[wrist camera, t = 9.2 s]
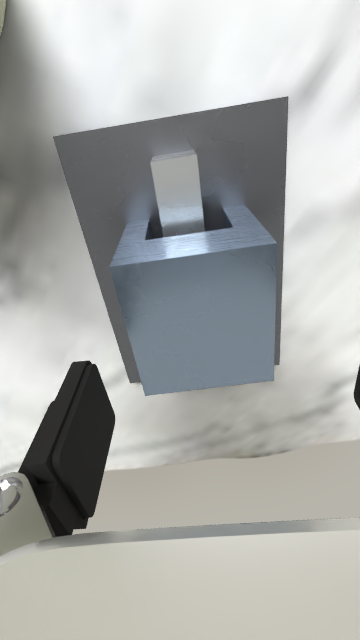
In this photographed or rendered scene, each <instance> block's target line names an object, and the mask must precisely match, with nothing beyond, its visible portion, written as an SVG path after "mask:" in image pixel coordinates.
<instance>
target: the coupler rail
mask: <svg viewBox="0 0 360 640" xmlns="http://www.w3.org/2000/svg"><path fill="white" fill-rule="evenodd" d="M287 121H288V97H282V98H277V99H271V100H265V101H259V102H253V103H247V104H242V105H236V106H230V107H224V108H218V109H212V110H207V111H201V112H195V113H189V114H183V115H177V116H172V117H166V118H160V119H154V120H148V121H142V122H137V123H131V124H125V125H119V126H113V127H107V128H102V129H96V130H90V131H84V132H78V133H72V134H67V135H61V136H55V137H53V138H54V142H55V145H56V148H57V151H58V154H59V158H60V161H61V164H62V167H63V170H64V174H65V177H66V180H67V183H68V186H69V190H70V193H71V196H72V199H73V202H74V206H75V209H76V212H77V215H78V218H79V222H80V225H81V228H82V231H83V234H84V238H85V241H86V244H87V247H88V250H89V254H90V257H91V260H92V263H93V266H94V270H95V273H96V276H97V279H98V282H99V286H100V289H101V292H102V295H103V298H104V302H105V305H106V308H107V311H108V314H109V317H110V321H111V324H112V327H113V330H114V333H115V337H116V340H117V343H118V346H119V349H120V353H121V356H122V359H123V362H124V365H125V369H126V372H127V375H128V378H129V381H130V383H135V382H141V379H140V375H139V372H138V368H137V365H136V361H135V357H134V354H133V350H132V347H131V343H130V340H129V336H128V332H127V329H126V325H125V322H124V318H123V315H122V311H121V307H120V304H119V300H118V297H117V293H116V290H115V286H114V283H113V279H112V275H111V272H110V268H109V266H110V264H111V261H112V259H113V257H114V254H115V252H116V249H117V247H118V244H119V242H120V240H121V237H122V235H123V232H124V230H125V227H126V225H127V223H131V222H138V221H145V220H149V222H150V228H151V233H152V238H153V239H158V238H164V237H171V236H178V235H185V234H192V233H199V232H205V231H212V230H219V229H224V219H223V209H225V208H232V207H238V206H246V207H247V208H248V209H249V210H250V211H251V213H252V214H253V215H254V216H255V217H256V219H257V220H258V221H259V222H260V223H261V224H262V226H263V227H264V228H265V229H266V230H267V232H268V233H269V234H270V235H271V236H272V237H273V239H274V240H275V241H276V242H277V274H276V312H275V350H274V365H279V361H280V331H281V301H282V271H283V241H284V211H285V181H286V151H287Z"/></svg>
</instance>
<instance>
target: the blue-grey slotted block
mask: <svg viewBox="0 0 360 640" xmlns="http://www.w3.org/2000/svg"><path fill="white" fill-rule="evenodd" d="M223 219H224V229H219V230H212V231H205V232H199V233H192V234H185V235H178V236H171V237H164V238H158V239H153V238H152V233H151V228H150V222H149V220H145V221H138V222H131V223H127V225H126V227H125V230H124V232H123V235H122V237H121V240H120V242H119V244H118V247H117V249H116V252H115V254H114V257H113V259H112V261H111V264H110V266H109V268H110V272H111V275H112V279H113V283H114V286H115V290H116V293H117V297H118V300H119V304H120V307H121V311H122V315H123V318H124V322H125V325H126V329H127V332H128V336H129V340H130V343H131V347H132V350H133V354H134V357H135V361H136V365H137V368H138V372H139V375H140V379H141V382H142V386H143V390H144V393H145V396H148V395H156V394H165V393H173V392H182V391H190V390H198V389H207V388H215V387H224V386H232V385H240V384H249V383H257V382H266V381H274V350H275V312H276V274H277V242H276V241H275V240H274V239H273V237H272V236H271V235H270V234H269V233H268V232H267V230H266V229H265V228H264V227H263V226H262V224H261V223H260V222H259V221H258V220H257V219H256V217H255V216H254V215H253V214H252V213H251V211H250V210H249V209H248V208H247V207H246V206H238V207H232V208H225V209H223Z"/></svg>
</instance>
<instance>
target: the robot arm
mask: <svg viewBox="0 0 360 640" xmlns="http://www.w3.org/2000/svg"><path fill="white" fill-rule="evenodd" d="M354 399H355V402H356V404H357V406H358V407H359V409H360V366H359V371H358V375H357V380H356V385H355V389H354ZM114 425H115V414H114V411H113V408H112V406H111V403H110V400H109V398H108V395H107V392H106V390H105V387H104V384H103V382H102V379H101V376H100V374H99V371H98V368H97V366H96V365H95V364H92V363H91V362H90V361H79V362H73V363H72V364H71V366H70V368H69V371H68V373H67V375H66V377H65V379H64V382H63V384H62V386H61V388H60V390H59V392H58V395H57V397H56V399H55V401H53V402H52V403H51V404H50V406H49V407H48V410H47V412H46V414H45V416H44V418H43V420H42V422H41V424H40V427H39V429H38V431H37V433H36V435H35V437H34V439H33V441H32V444H31V446H30V448H29V450H28V452H27V454H26V456H25V458H24V461H23V463H22V465H21V467H20V469H19V471H18V472H12V473H8V474H4V475H2V476H0V640H360V517H358V518H336V519H316V520H296V521H278V522H260V523H241V524H223V525H204V526H187V527H170V528H154V529H137V530H123V531H110V532H97V533H84V534H75V535H72V532H73V529H86V526H87V522H88V518H89V517H92V516H93V515H94V512H95V508H96V504H97V499H98V495H99V491H100V486H101V482H102V477H103V473H104V469H105V464H106V460H107V456H108V451H109V447H110V443H111V438H112V434H113V430H114Z"/></svg>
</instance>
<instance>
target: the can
mask: <svg viewBox="0 0 360 640" xmlns="http://www.w3.org/2000/svg"><path fill="white" fill-rule="evenodd" d="M5 9H6V0H0V36H1V32H2V28H3V24H4V16H5Z"/></svg>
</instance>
